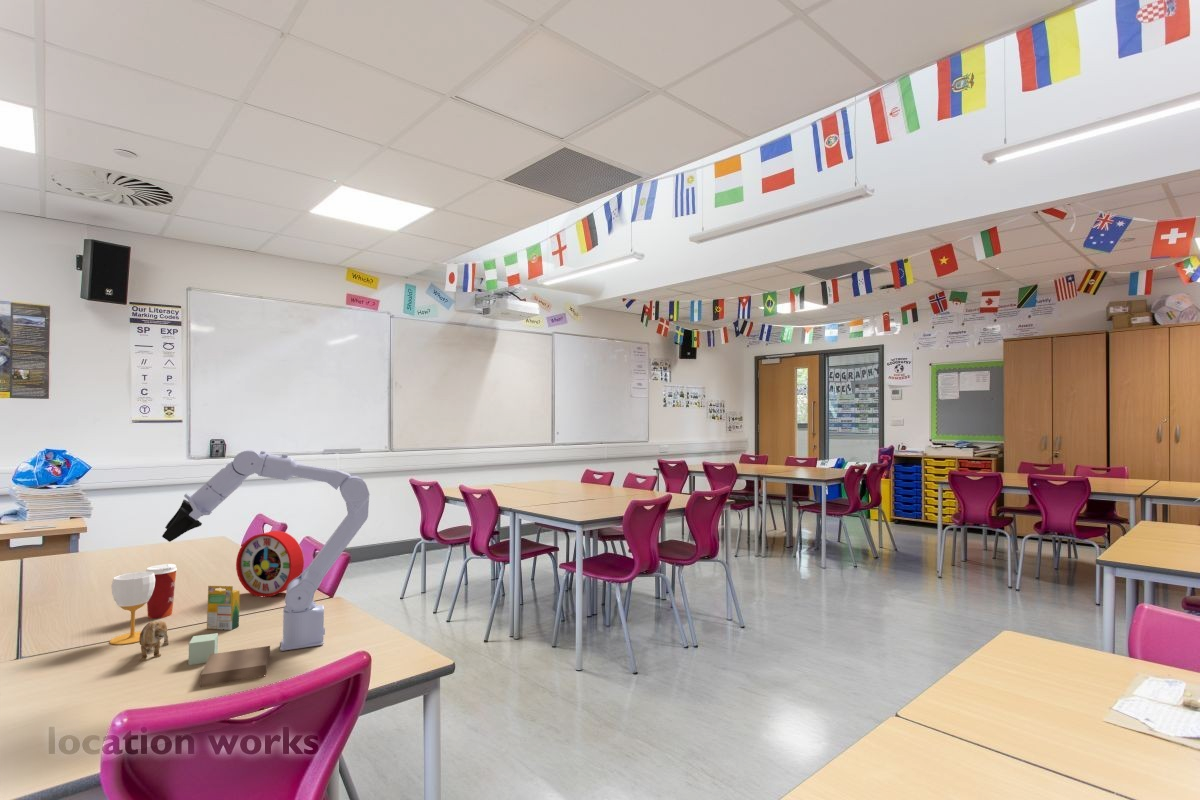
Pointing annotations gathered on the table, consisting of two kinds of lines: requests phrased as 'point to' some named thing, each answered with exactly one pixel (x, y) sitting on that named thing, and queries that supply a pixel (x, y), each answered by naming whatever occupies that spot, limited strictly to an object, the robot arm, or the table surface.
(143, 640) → the tan animal figurine
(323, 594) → the table surface
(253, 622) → the table surface
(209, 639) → the sage cube
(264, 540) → the toy clock
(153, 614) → the paper cup
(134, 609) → the cup
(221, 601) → the crayon box
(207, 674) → the walnut block
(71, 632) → the table surface
